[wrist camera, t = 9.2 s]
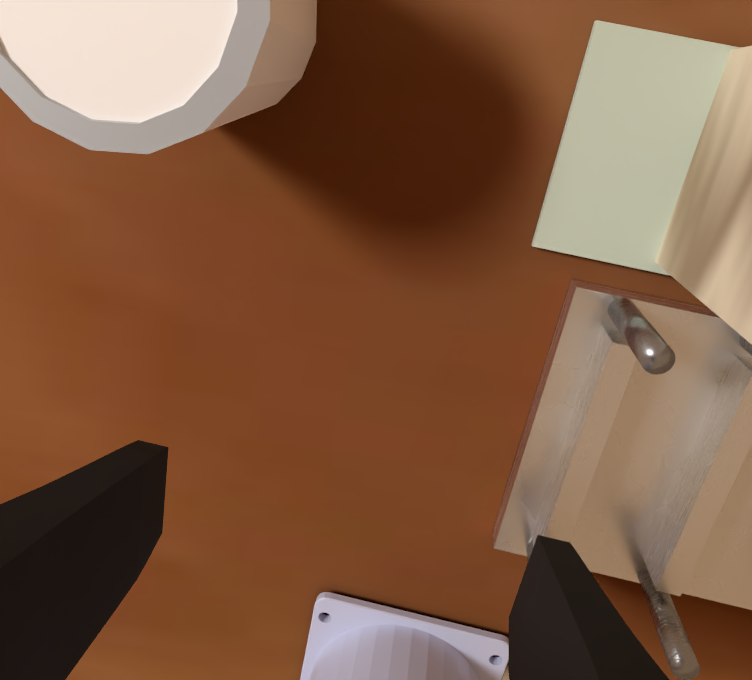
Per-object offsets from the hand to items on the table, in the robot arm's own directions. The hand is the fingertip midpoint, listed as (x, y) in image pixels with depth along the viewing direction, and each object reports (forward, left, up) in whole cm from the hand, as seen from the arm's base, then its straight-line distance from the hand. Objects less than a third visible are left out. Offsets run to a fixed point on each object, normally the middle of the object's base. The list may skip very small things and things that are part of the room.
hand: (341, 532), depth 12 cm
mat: (+7, -9, -10) cm, 15 cm away
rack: (-2, -13, -10) cm, 17 cm away
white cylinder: (+9, +7, -11) cm, 16 cm away
